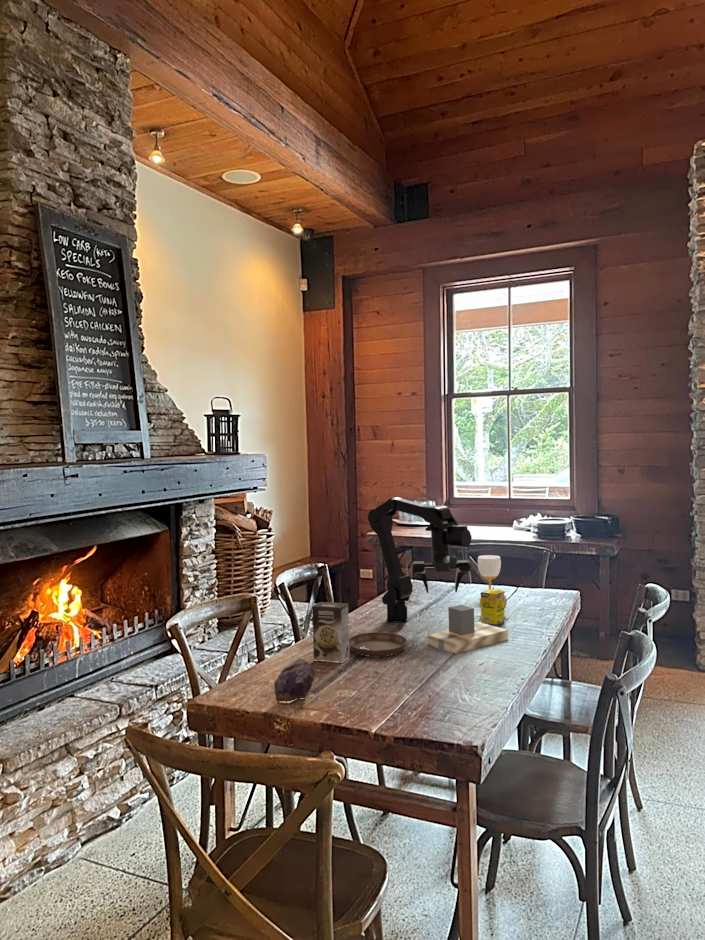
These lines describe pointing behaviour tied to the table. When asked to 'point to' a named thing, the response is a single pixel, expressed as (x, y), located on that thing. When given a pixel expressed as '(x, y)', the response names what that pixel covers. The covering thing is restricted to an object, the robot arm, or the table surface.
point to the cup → (489, 567)
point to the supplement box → (492, 607)
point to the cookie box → (330, 631)
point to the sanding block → (461, 620)
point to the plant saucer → (377, 643)
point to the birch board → (468, 638)
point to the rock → (294, 681)
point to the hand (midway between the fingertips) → (441, 592)
